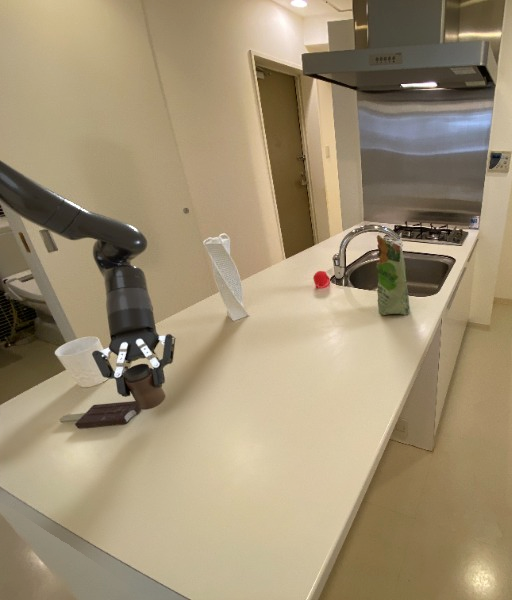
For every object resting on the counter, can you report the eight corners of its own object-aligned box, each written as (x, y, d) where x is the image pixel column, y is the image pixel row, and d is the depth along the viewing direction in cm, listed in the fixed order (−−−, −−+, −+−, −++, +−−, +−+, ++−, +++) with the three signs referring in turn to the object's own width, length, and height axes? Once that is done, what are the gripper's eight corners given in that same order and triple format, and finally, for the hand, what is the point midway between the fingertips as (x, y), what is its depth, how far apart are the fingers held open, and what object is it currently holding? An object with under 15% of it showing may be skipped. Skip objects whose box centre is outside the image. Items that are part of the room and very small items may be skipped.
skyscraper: (254, 315, 108) (233, 232, 95) (231, 324, 103) (206, 238, 90) (244, 307, 113) (222, 228, 100) (222, 315, 108) (196, 233, 95)
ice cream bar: (52, 431, 67) (130, 424, 68) (48, 426, 66) (127, 418, 67) (72, 412, 71) (145, 405, 73) (68, 406, 71) (142, 400, 72)
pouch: (405, 321, 103) (404, 245, 91) (369, 317, 105) (364, 242, 94) (413, 305, 112) (413, 234, 101) (380, 301, 115) (377, 232, 103)
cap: (331, 289, 125) (329, 274, 122) (316, 291, 123) (313, 277, 120) (329, 281, 132) (327, 267, 129) (313, 283, 130) (311, 269, 127)
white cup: (94, 391, 77) (74, 357, 73) (66, 387, 78) (44, 354, 74) (124, 369, 84) (107, 337, 79) (98, 366, 85) (80, 335, 81)
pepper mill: (133, 411, 67) (115, 379, 63) (146, 394, 71) (130, 363, 67) (158, 408, 67) (142, 376, 63) (170, 392, 71) (155, 361, 67)
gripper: (77, 316, 63) (87, 402, 59) (164, 299, 69) (178, 377, 65) (97, 326, 70) (107, 405, 66) (175, 310, 75) (188, 381, 72)
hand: (142, 391), depth 65 cm, fingers closed on pepper mill, 5 cm apart
